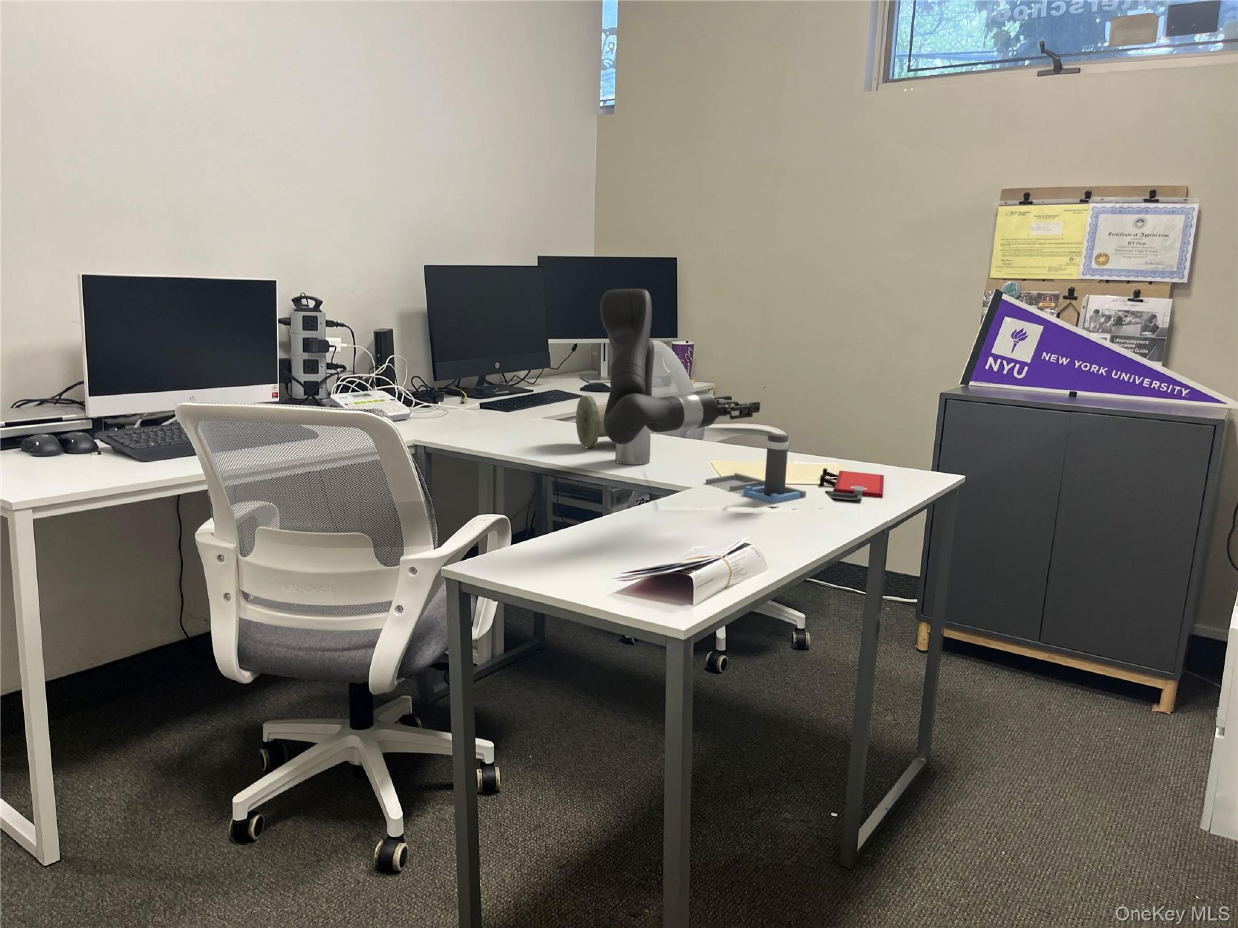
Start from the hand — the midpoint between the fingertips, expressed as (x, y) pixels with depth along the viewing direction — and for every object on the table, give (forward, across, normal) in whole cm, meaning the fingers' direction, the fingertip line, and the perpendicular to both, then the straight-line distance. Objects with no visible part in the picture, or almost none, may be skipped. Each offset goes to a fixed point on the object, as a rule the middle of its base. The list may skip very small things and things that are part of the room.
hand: (744, 403), depth 194 cm
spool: (+17, +69, +25) cm, 76 cm away
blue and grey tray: (+10, +5, +23) cm, 26 cm away
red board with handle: (+36, -3, +24) cm, 43 cm away
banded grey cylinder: (+10, -2, +22) cm, 24 cm away
